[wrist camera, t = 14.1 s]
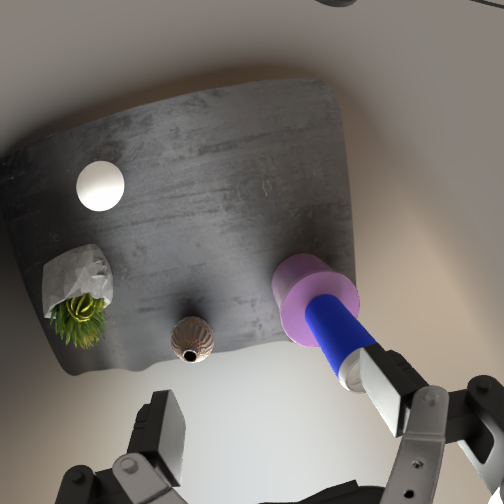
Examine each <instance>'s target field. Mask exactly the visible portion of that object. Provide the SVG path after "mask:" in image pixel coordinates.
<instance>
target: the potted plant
mask: <svg viewBox="0 0 504 504" xmlns="http://www.w3.org/2000/svg"><path fill="white" fill-rule="evenodd" d="M112 298H113V275H112V272H111V269H110V265H109V263H108V261H107V259H106V258H105V256H104V254H103V253H102V251H101V249H100V248H99V247H98V246H96V245H95V244H87V245H84V246H80V247H77V248H75V249H72V250H69V251H67V252H65V253H63V254H61V255H59V256H58V257H56V258H54V259H52V260H51V261H49V262H48V263H46V264H45V265H44V269H43V281H42V302H43V310H44V317H46V318H51V324H52V320H53V318H55V331H56V335H57V328H58V333H59V330H60V335H61V340H62V336H63V333H64V330H65V333H66V347H67V344H68V342H69V340H70V337H72V339H73V342H74V344H75V347H76V349H77V344H78V343H79V344H80V345H81V347H82V348H83V349H84V345H85V346H86V348H87V349H88V347H87V345H88V346H90V345H91V346H92V345H93V339H94V340H95V342H96V344H97V339H98V340H99V338H98V336H97V332H99V333H100V334H101V335H102V336H103V338H104V335H103V332H104V330H103V328H102V326H101V324H102V325H103V326H104V324H103V322H102V321H104V322H106V320H105V318H104V317H103V316H102V314H105V313H104V312H105V311H104V310H103V309H104V308H105V307H106V306H107V305H109V304H110V303H111V301H112ZM101 313H102V314H101ZM105 315H106V314H105ZM100 323H101V324H100ZM106 323H107V322H106ZM104 327H105V326H104ZM101 329H102V330H103V332H102V330H101ZM96 331H97V332H96ZM96 338H97V339H96ZM104 339H105V338H104ZM93 347H94V346H93Z"/></svg>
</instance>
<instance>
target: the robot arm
mask: <svg viewBox="0 0 504 504" xmlns="http://www.w3.org/2000/svg"><path fill="white" fill-rule="evenodd" d="M471 1H475V2H479V3H482V4H486V5H490V6H495V7H499V8H503V9H504V5H500V4H496V3H492V2H488V1H484V0H471ZM360 373H361V381H362V385H363V387H364V389H365V391H366V392H367V394H368V395H369V397H370V398H371V400H372V402H373V403H374V405H375V406H376V408H377V410H378V411H379V413H380V414H381V416H382V417H383V419H384V421H385V422H386V424H387V425H388V427H389V429H390V430H391V432H392V433H393V435H394V436H395V438H397V437H399V436H402V435H403V436H402V440H401V443H400V446H399V449H398V453H397V456H396V459H395V463H394V465H393V468H392V471H391V474H390V477H389V480H388V482H387V485H386V488H385V487H380V486H358V484H357V482H356V480H352V481H349V482H346V483H343V484H340V485H336V486H333V487H330V488H326V489H324V490H323V491H320V492H318V493H316V494H315V495H312V496H310V497H308V498H306V499H304V500H302V501H299V502H294V503H293V502H288V503H268V502H265V503H259V504H432V503H433V499H434V495H435V491H436V486H437V482H438V478H439V473H440V468H441V463H442V458H443V452H444V446H445V444H447V443H452V442H458V444H459V445H460V447H461V448H462V450H463V451H464V453H465V454H466V455H467V457H468V458H469V460H470V461H471V463H472V464H473V466H474V467H475V469H476V470H477V472H478V474H479V475H480V477H481V478H482V479H483V481H484V483H485V484H486V486H487V487H488V489H489V490H490V492H491V494H492V495H493V496H492V497H491V499H490V501H489V504H504V387H503V386H502V385H501V384H500V383H499V382H498V381H497V380H496V379H495V378H493V377H491V376H487V375H479V376H476V377H474V378H472V379H471V380H470V381H469V383H468V386H467V389H463V390H459V391H454V392H447V391H446V390H445V389H443V388H442V387H439V386H433V385H429V384H428V383H427V382H426V381H425V380H424V379H423V378H422V377H421V376H420V375H419V373H418V372H417V371H416V370H415V369H414V368H412V366H411V365H410V364H409V363H408V362H407V361H406V359H405V358H404V357H403V356H402V355H401V354H399V353H397V352H395V351H393V350H389V351H385V350H384V349H383V348H382V347H381V346H380V344H379V343H374V344H371V345H368V346H365V347H361V348H360ZM135 421H136V423H135V424H134V427H133V428H134V430H133V431H132V435H131V438H130V442H129V446H128V449H127V453H126V454H124V455H122V456H120V457H119V458H118V459H117V460H116V461H115V462H114V464H113V467H112V468H110V469H107V470H103V471H99V472H93V471H92V469H91V468H89V467H88V466H85V465H77V466H74V467H72V468H70V469H69V470H68V471H67V472H66V473H65V475H64V476H63V479H62V482H61V486H60V489H59V492H58V495H57V498H56V502H55V504H188V503H187V502H186V501H185V500H184V499H183V498H182V497H181V496H180V495H179V494H178V493H177V492H176V491H175V490H174V489H173V488H172V487H179V486H181V474H182V461H183V450H184V439H185V428H186V427H185V420H184V417H183V414H182V412H181V410H180V407H179V405H178V403H177V400H176V398H175V396H174V394H173V392H172V390H163V391H156V392H153V395H152V398H151V403H150V404H144V405H143V407H142V408H141V409H140V410H139V411H138V413H137V417H136V420H135Z"/></svg>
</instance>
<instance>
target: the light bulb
mask: <svg viewBox="0 0 504 504" xmlns="http://www.w3.org/2000/svg"><path fill="white" fill-rule="evenodd" d="M124 186H125V181H124V179H123V176H122V173H121V171H120V170H119V169H118V168H117V167H116V166H115V165H114V164H112V163H110V162H106V161H97V162H93V163H91V164H89V165H88V166H86V167H85V168H84V169H83V170H82V172H81V173H80V175H79V177H78V180H77V186H76V187H77V194H78V197H79V199H80V201H81V202H82V203H83V204H84V205H85V206H86V207H88V208H89V209H91V210H94V211H104V210H107V209H110V208H111V207H113V206H114V205H115V204H117V203H118V201H119V200H120V198H121V196H122V194H123V191H124Z"/></svg>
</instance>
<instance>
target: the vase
mask: <svg viewBox="0 0 504 504" xmlns="http://www.w3.org/2000/svg"><path fill="white" fill-rule="evenodd" d="M171 346H172V349H173V351H174V353H175V354H176V355H177V356H178V357H179V358H180V359H182V360H184V361H186V362H188V363H194V362H199V361H201V360H204V359H205V358H206V357H207V356H208V355H209V354H210V353H211V351H212V349H213V346H214V333H213V330H212V328H211V326H210V325H209V324H208V323H207V322H206V321H205V320H203V319H202V318H199V317H195V316H190V317H186V318H183V319H181V320H180V321H179V322H178V323H177V324H176V325H175V326H174V328H173V330H172V333H171Z"/></svg>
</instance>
